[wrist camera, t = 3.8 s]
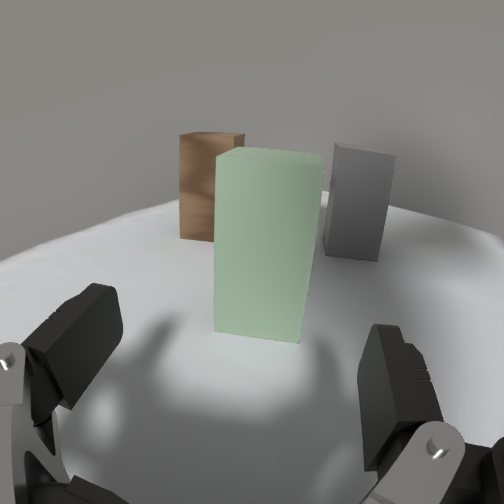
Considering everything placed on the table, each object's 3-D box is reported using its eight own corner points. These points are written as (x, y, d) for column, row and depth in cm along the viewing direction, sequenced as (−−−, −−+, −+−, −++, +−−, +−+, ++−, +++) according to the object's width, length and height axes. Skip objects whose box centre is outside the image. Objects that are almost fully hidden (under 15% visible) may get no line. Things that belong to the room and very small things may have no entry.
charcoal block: (368, 241, 33) (383, 149, 29) (376, 261, 29) (395, 155, 25) (323, 236, 34) (334, 142, 30) (325, 255, 30) (339, 146, 25)
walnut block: (240, 226, 35) (244, 133, 31) (229, 244, 31) (234, 136, 27) (196, 222, 36) (197, 131, 32) (180, 238, 31) (179, 135, 27)
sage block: (302, 298, 23) (320, 154, 19) (299, 343, 18) (324, 166, 14) (232, 289, 23) (237, 146, 19) (214, 331, 19) (216, 156, 15)
